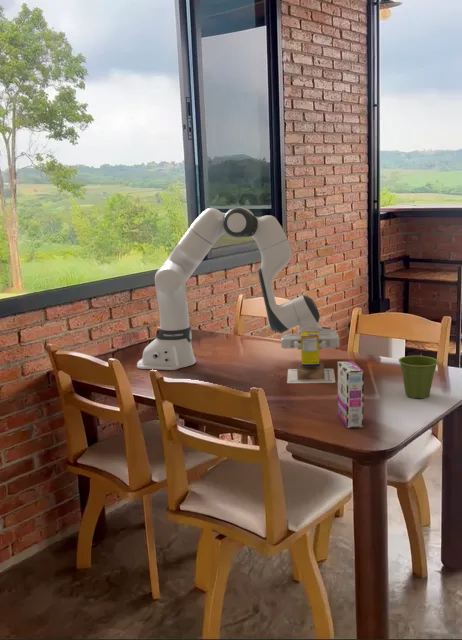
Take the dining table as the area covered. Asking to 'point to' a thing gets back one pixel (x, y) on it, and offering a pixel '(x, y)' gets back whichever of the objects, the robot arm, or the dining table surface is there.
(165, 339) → the robot arm
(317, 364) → the supplement box
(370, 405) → the dining table surface
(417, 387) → the plant pot
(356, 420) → the candy bar box
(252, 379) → the dining table surface
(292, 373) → the blueprint board
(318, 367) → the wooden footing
